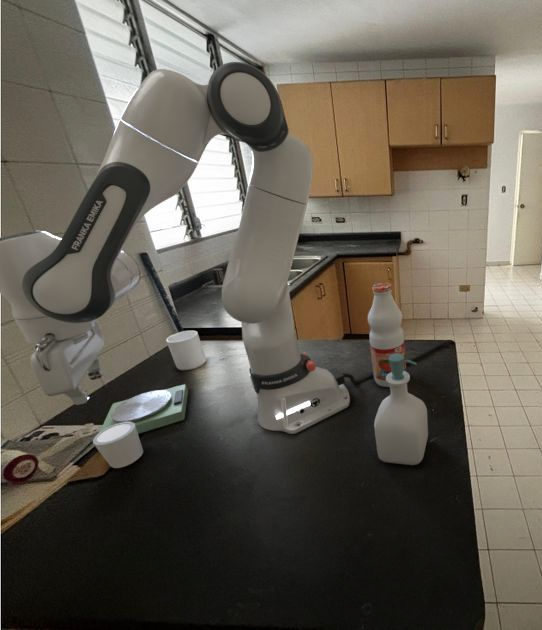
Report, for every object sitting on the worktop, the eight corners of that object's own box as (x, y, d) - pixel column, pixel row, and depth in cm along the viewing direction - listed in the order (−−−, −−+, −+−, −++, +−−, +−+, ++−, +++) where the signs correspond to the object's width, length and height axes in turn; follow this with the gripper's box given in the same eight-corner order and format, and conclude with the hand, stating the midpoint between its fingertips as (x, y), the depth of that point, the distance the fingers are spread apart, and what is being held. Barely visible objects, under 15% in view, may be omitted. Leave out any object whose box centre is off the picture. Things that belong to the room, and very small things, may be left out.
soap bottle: (422, 470, 66) (416, 372, 57) (375, 465, 67) (362, 368, 58) (429, 435, 74) (425, 345, 65) (388, 431, 76) (378, 343, 67)
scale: (188, 391, 94) (184, 381, 93) (184, 419, 83) (180, 409, 82) (116, 411, 87) (111, 401, 86) (101, 445, 76) (96, 434, 75)
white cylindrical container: (124, 472, 68) (110, 446, 66) (97, 468, 70) (83, 442, 67) (154, 447, 75) (143, 422, 72) (130, 444, 76) (117, 419, 73)
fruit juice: (394, 366, 102) (387, 277, 91) (413, 379, 95) (407, 285, 84) (368, 377, 97) (356, 285, 86) (385, 392, 90) (375, 294, 79)
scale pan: (173, 386, 91) (173, 385, 91) (168, 411, 82) (168, 409, 81) (118, 401, 86) (117, 400, 86) (106, 429, 76) (104, 427, 76)
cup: (186, 373, 103) (175, 344, 99) (164, 365, 109) (153, 337, 105) (212, 360, 110) (203, 332, 106) (190, 353, 115) (180, 327, 111)
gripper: (60, 342, 53) (96, 413, 58) (97, 304, 69) (122, 362, 75) (3, 353, 50) (46, 426, 55) (56, 310, 67) (85, 370, 72)
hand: (90, 389), depth 65 cm, fingers open, 8 cm apart
